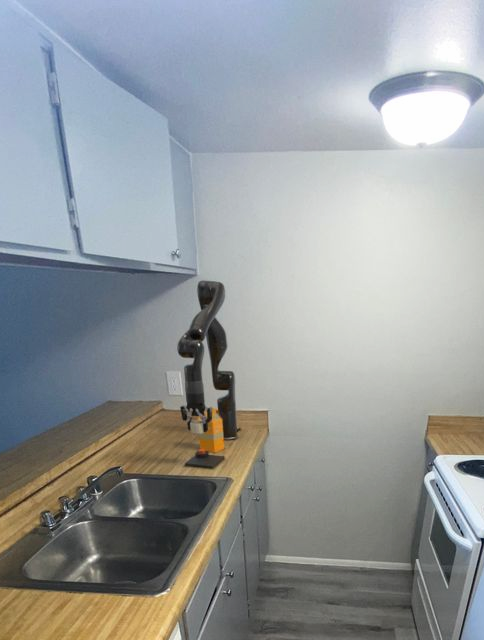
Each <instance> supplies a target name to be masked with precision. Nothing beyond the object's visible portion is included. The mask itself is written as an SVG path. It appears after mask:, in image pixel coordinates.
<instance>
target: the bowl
mask: <svg viewBox="0 0 484 640" xmlns="http://www.w3.org/2000/svg"><path fill="white" fill-rule="evenodd" d="M190 428H191V431H190V433H191V434H193V435H199V434H203V433H204V430H203V421H200V420H198V419H197V420H191V422H190Z"/></svg>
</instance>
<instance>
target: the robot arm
mask: <svg viewBox="0 0 484 640" xmlns="http://www.w3.org/2000/svg"><path fill="white" fill-rule="evenodd" d="M225 287H226V286H225V284H224V283H223V282H221V281H217V280H215V281H213V280H202V279H201V280H199V281H198V283H197V287H196V293H197V299H198V304H199V307H200V311H198V312H197V313H196V315H194V317H193V318H192V319H191V323H190V325H189V328H188V329H187V331H185V332H184V334H183V335H182V336H181V337H180V339H179V340H178V342H177V346H176V350H177V353H178V355H179V356H180V357H181V358H183V359H193V362H192V363H188V364H186V365H184V367H183V373H184V375H183V376H184V392H185V401H186V405H181V406H180V407H179V408H180V409H179V410H180V414H181V419H182V421H185V422H186V423H187V429H188V431H189V432H191V428H190V422H191V421H193V418H194V417H200V419H202V421H203V430H204V432H207V430H208V423H209V422H211V421H212V408H213V407H211V406H210V407H207V406H206V404H205V401H206V400H205V388H204V381H203V372H202V371H203V362H204V358H205V357H204V356H205V345H204V343H203V341H204V340H205V339H206V345H207V349H208V354H209V360H210V368H211V369H210V370H211V378H212V379H211V380H212V385H213V388H214V390H216V391H227V393H226V394H224V395H223V396H219V397H217V398H216V399H217V400H216V402H217V403H216V405H217V411H218V413H219V415H220V416H221V418H222V424H223V440H224V441H231V440H235V439H238V432H239V431H240V430H241V427H238V423H237V422H238V421H237V400H236V399H237V398H236V375H235V371H232V370H220V369H219V368H220V367H219V366H220V364H221V361H222V359H223V358H224V356H225V354H226V353H227V350H228V338H227V337H228V336H227V332H226V330H225V328H224V326H223V325H222V323H221V322H220V321H219V320H218V318H217V317H216V316H217V315H218V313H219V312H220V310H221V308H222V307H223V305H224V303H225V300H226V288H225ZM205 410H206V412H207V418H206V415H205V413H204V411H205ZM187 411H188V413H187Z"/></svg>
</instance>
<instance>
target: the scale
mask: <svg viewBox="0 0 484 640" xmlns="http://www.w3.org/2000/svg"><path fill="white" fill-rule="evenodd" d="M225 459H226V456H224V455H216V454H209V451H205V453H204V454H199V453H198V450H197V451H195V452H194V456H193V457H192V458H190V459H188V460H187V461H186V462H185V463H184V466H185V467H188V468H189V467H190V468H198V469H199V468H200V469H210V470H214V469H215V468H216V467H217V466H218V465H219V464H220V463H222V462H223V461H225Z"/></svg>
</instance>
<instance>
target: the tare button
mask: <svg viewBox="0 0 484 640" xmlns="http://www.w3.org/2000/svg"><path fill="white" fill-rule="evenodd" d="M197 451H198V453H199V454H204V453H205V449H200V448H199V449H198V450H197Z"/></svg>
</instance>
